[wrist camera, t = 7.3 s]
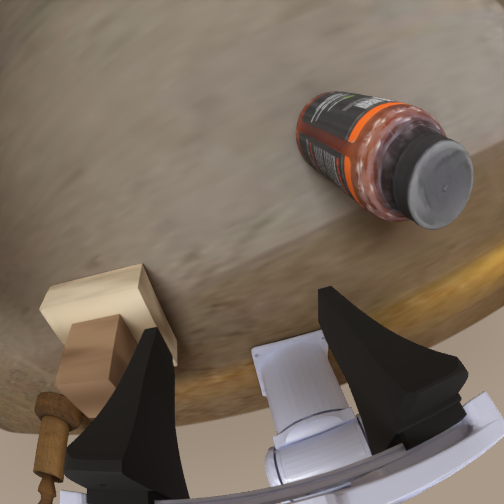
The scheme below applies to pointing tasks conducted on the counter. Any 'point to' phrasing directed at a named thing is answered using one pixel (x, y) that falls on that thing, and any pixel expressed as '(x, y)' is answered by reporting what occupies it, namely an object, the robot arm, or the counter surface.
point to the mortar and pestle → (53, 440)
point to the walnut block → (94, 362)
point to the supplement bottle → (386, 157)
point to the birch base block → (108, 303)
